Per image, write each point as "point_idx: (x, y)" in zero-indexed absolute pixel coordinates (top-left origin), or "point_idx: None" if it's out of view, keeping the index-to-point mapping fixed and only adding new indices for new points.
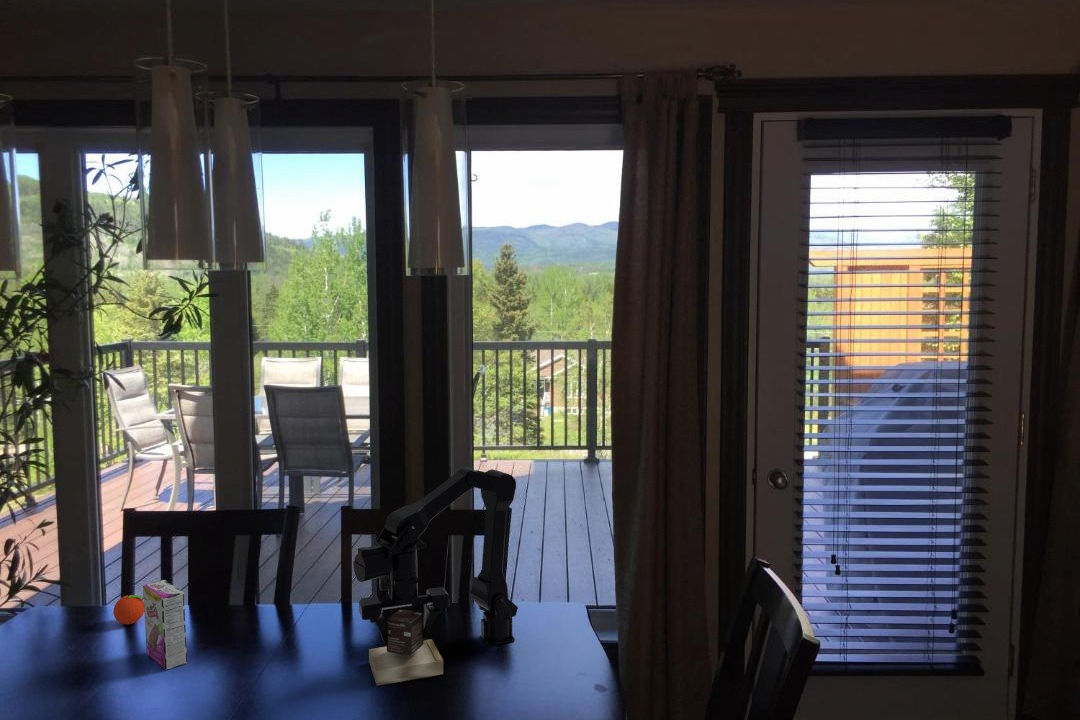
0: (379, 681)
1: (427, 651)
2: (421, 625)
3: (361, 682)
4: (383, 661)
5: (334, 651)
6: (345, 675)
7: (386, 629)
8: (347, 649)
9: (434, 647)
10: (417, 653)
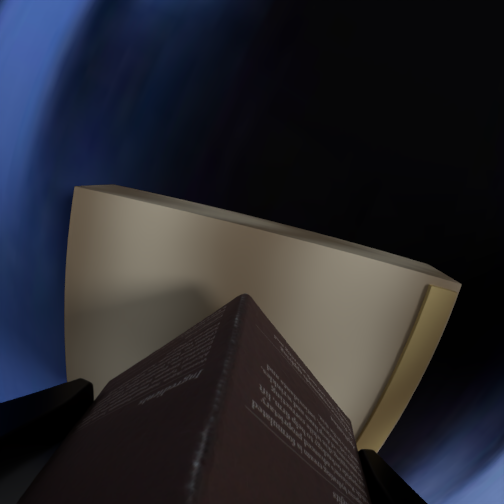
0: None
1: (355, 408)
2: None
3: (55, 333)
4: (106, 373)
5: (57, 18)
6: (20, 244)
7: (38, 475)
8: (98, 13)
9: (405, 396)
10: None
